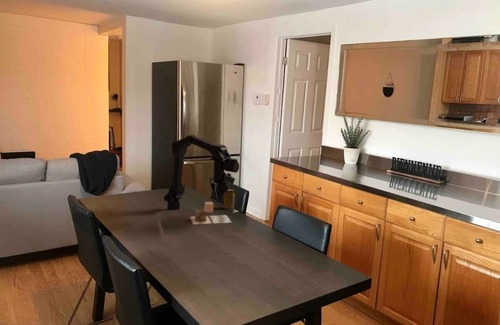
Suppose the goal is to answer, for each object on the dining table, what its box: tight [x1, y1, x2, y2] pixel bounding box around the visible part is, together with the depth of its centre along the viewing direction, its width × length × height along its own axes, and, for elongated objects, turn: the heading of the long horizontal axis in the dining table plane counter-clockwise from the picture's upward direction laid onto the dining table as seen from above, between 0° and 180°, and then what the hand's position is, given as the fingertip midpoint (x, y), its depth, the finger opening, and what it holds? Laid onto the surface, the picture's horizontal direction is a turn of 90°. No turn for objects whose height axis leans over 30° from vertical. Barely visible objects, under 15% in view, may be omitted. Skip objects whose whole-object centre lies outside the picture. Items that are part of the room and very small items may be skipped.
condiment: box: [223, 188, 239, 213], centre depth 225 cm, size 7×8×12 cm
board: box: [189, 214, 233, 225], centre depth 205 cm, size 20×12×1 cm, turn 108°
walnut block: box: [194, 208, 208, 222], centre depth 203 cm, size 5×5×5 cm
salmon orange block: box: [204, 201, 214, 213], centre depth 218 cm, size 4×4×6 cm
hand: (217, 199), depth 205 cm, fingers open, 9 cm apart
